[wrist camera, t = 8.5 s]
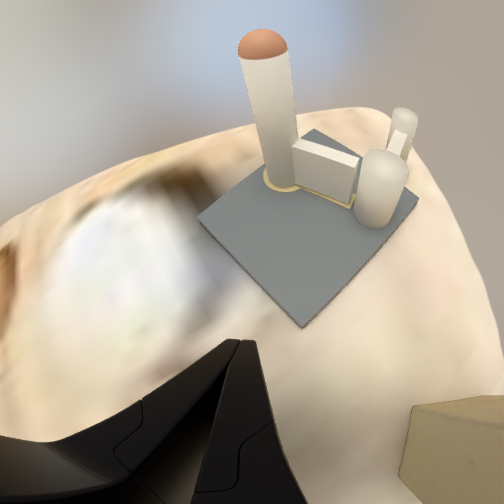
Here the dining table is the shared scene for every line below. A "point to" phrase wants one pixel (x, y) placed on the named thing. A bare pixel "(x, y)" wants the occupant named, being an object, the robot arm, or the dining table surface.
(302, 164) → the fence post
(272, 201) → the board
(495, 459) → the toy refrigerator
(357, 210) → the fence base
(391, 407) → the dining table surface
